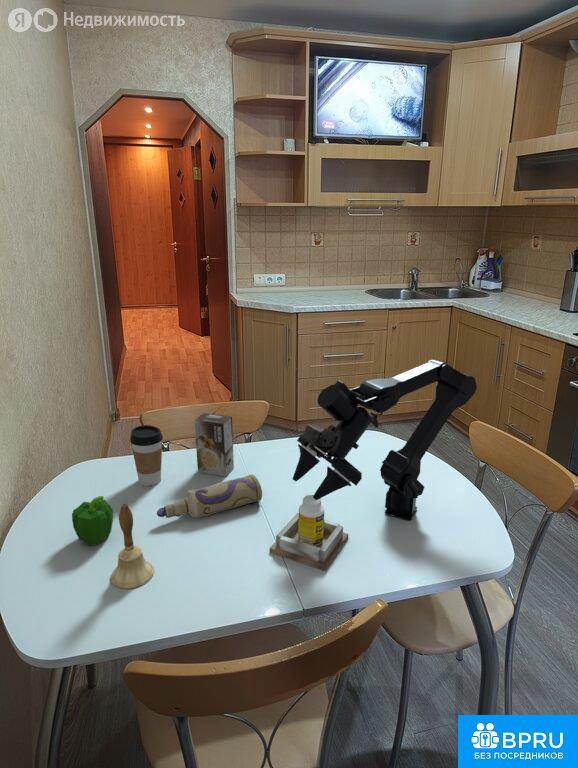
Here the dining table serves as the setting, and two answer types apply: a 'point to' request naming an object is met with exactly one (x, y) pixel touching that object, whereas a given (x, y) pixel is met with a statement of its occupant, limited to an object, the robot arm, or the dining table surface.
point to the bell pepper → (93, 521)
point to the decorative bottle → (215, 498)
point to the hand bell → (130, 557)
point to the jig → (307, 553)
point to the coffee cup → (147, 453)
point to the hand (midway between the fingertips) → (303, 489)
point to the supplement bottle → (311, 521)
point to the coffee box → (214, 444)
